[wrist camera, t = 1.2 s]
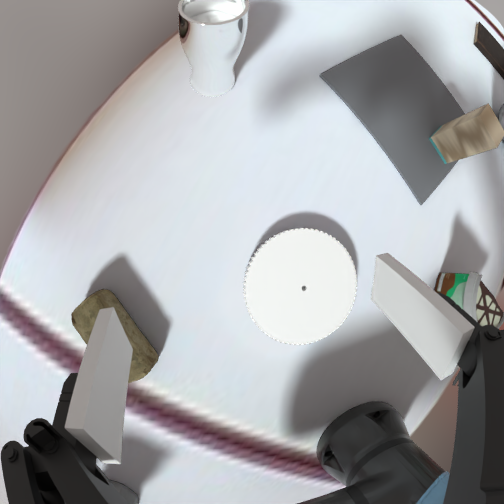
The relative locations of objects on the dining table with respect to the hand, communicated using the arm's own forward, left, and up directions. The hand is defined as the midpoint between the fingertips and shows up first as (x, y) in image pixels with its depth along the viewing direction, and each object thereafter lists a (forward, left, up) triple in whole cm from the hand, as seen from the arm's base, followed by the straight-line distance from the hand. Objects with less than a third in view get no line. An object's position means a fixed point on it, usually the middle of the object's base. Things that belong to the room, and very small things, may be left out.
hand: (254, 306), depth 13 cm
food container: (-27, -22, -21) cm, 41 cm away
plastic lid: (-7, -5, -22) cm, 23 cm away
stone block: (+3, +16, -21) cm, 27 cm away
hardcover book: (-5, -92, -22) cm, 95 cm away
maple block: (-7, -39, -21) cm, 45 cm away
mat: (+1, -39, -21) cm, 44 cm away
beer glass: (+21, -14, -21) cm, 33 cm away
